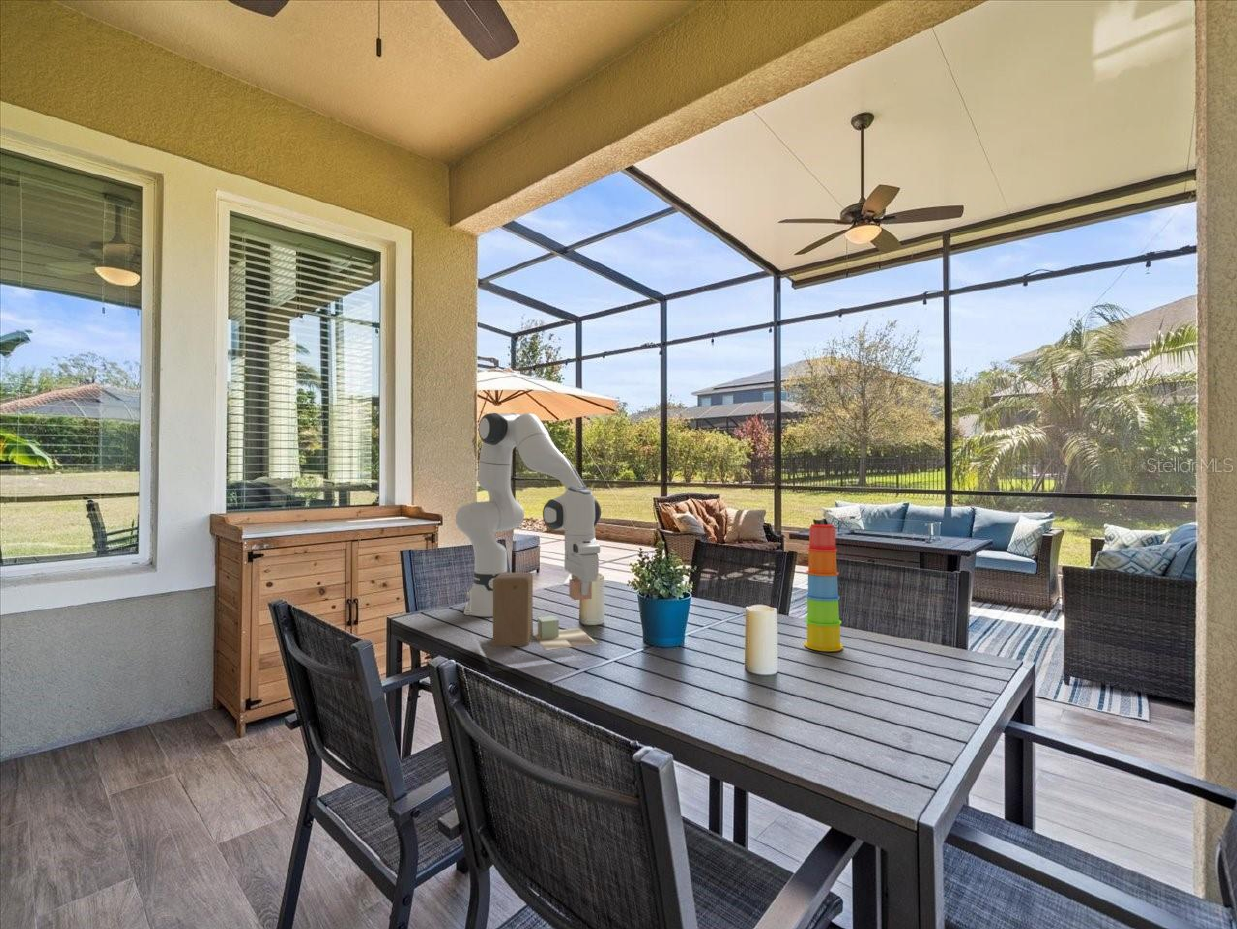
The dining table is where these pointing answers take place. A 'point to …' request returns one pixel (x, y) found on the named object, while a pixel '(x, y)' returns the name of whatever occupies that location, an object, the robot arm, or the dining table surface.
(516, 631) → the wooden block
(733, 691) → the dining table surface
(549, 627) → the sage block
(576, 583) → the terracotta block
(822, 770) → the dining table surface
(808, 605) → the stacking cups
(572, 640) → the birch base board
